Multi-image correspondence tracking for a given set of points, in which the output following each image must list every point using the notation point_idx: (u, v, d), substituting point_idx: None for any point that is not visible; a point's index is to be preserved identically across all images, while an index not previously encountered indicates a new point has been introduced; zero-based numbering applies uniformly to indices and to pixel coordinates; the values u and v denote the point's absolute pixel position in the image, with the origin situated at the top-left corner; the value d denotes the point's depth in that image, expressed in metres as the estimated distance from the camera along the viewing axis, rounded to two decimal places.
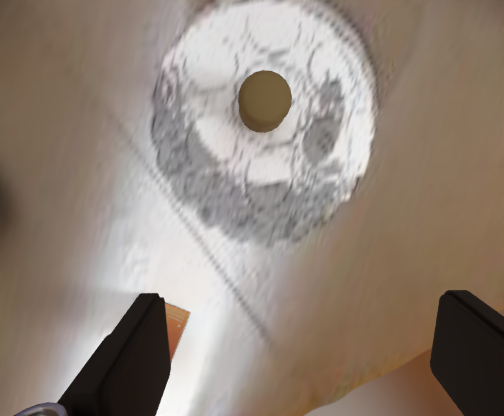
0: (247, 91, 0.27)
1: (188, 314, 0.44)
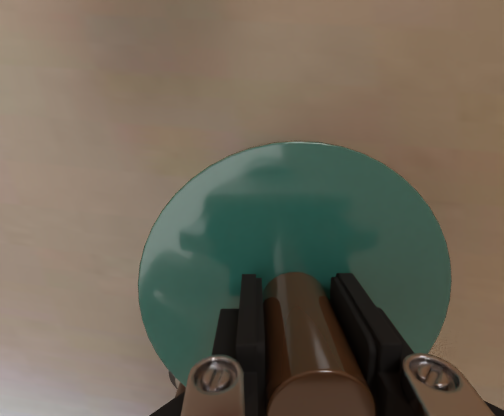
0: None
1: None
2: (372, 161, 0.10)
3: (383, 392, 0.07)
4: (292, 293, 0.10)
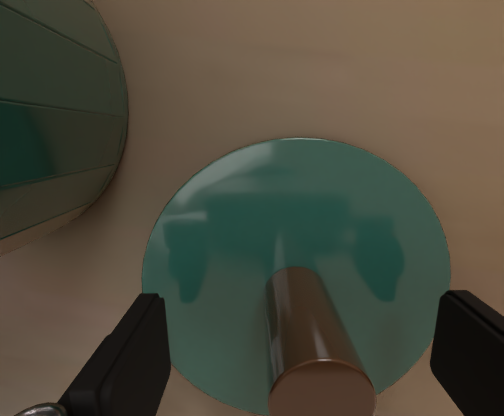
0: None
1: None
2: (372, 157, 0.11)
3: None
4: (294, 286, 0.10)
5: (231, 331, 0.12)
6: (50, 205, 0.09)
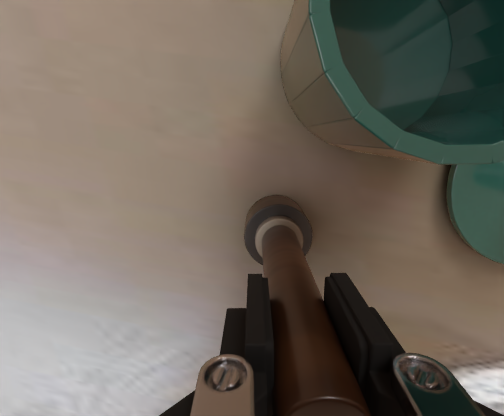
0: None
1: None
2: None
3: (373, 392, 0.07)
4: None
5: (501, 206, 0.20)
6: None
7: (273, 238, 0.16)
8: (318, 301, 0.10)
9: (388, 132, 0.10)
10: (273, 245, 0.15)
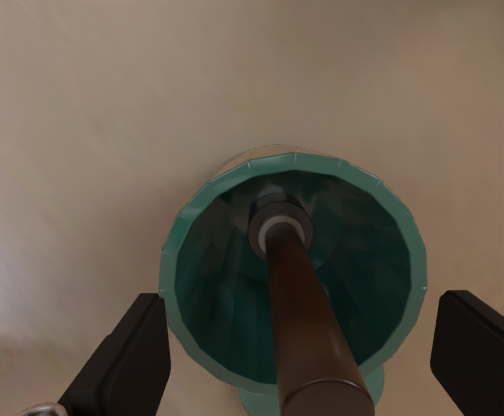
0: None
1: None
2: None
3: None
4: None
5: None
6: None
7: (276, 234, 0.16)
8: (320, 293, 0.10)
9: (172, 314, 0.13)
10: (275, 241, 0.15)
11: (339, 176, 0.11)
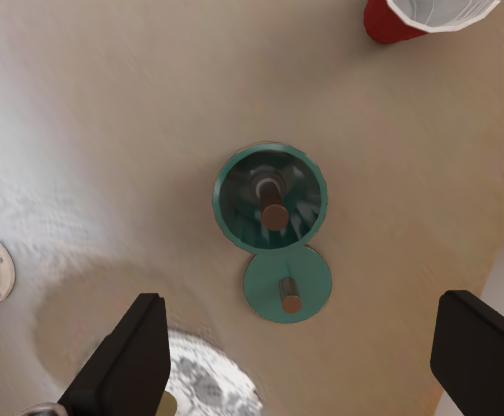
0: None
1: None
2: (329, 271, 0.41)
3: None
4: (294, 283, 0.40)
5: (266, 280, 0.41)
6: None
7: (264, 185, 0.33)
8: (279, 196, 0.27)
9: (217, 214, 0.30)
10: (264, 186, 0.32)
11: (288, 152, 0.28)
